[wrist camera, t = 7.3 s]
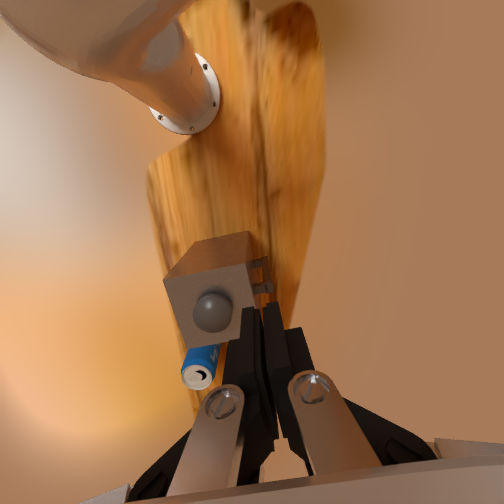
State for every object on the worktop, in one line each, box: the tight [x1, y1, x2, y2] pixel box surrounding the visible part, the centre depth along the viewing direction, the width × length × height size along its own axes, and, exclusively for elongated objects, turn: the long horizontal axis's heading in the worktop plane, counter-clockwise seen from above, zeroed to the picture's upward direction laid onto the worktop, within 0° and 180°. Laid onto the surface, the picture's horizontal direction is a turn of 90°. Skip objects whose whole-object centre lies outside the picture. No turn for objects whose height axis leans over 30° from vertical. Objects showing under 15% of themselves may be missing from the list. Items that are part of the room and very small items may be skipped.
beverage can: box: [181, 343, 221, 390], centre depth 52 cm, size 6×6×12 cm
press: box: [163, 231, 274, 349], centre depth 43 cm, size 11×14×19 cm
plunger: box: [193, 293, 233, 333], centre depth 41 cm, size 9×9×19 cm
